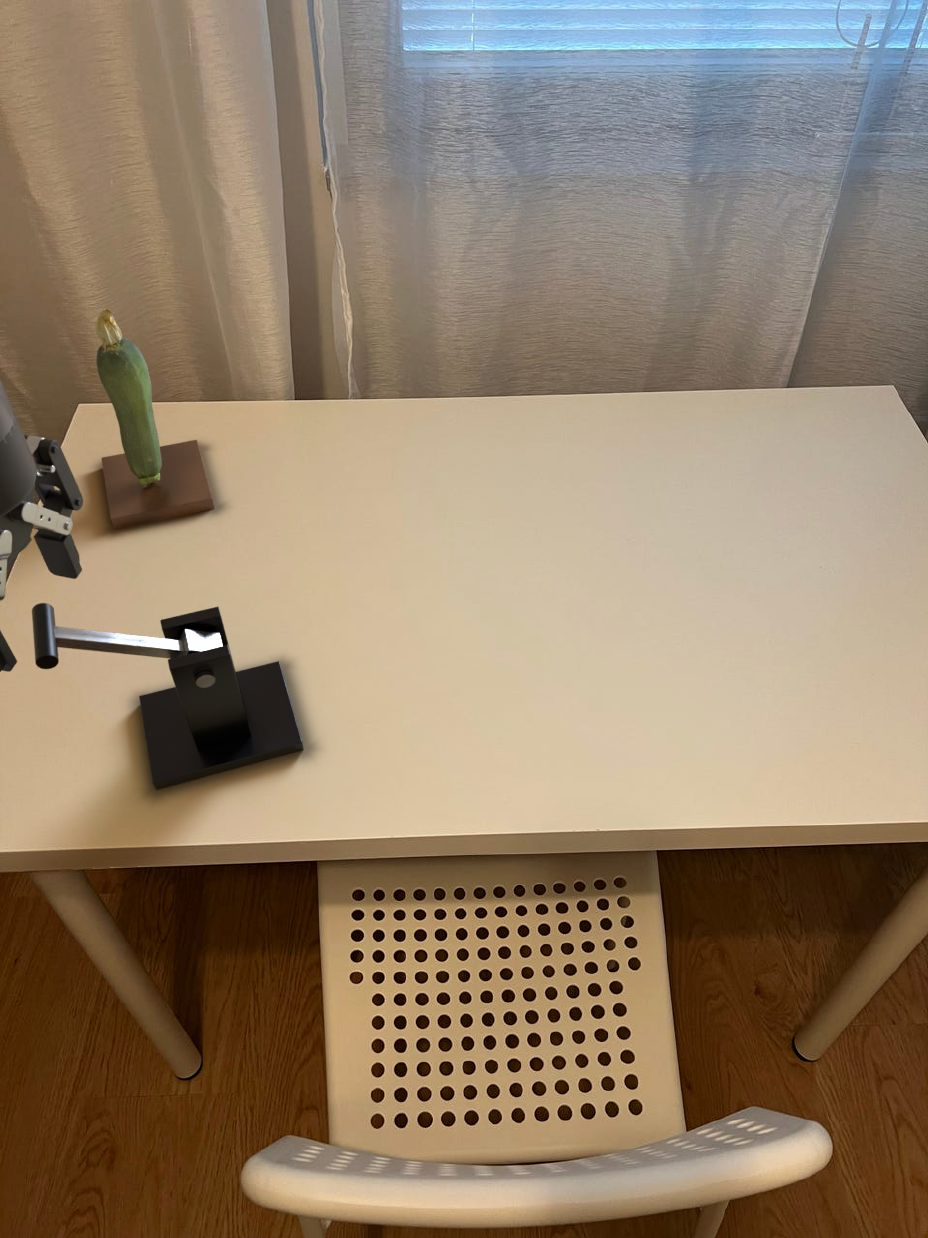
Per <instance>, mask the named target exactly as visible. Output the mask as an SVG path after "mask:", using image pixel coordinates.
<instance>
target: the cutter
mask: <svg viewBox="0 0 928 1238" xmlns="http://www.w3.org/2000/svg"><path fill="white" fill-rule="evenodd" d="M160 626H161V631H162V634H163V636H164V639H173V640H179V639H180V637H181V635H182V633H183V631H184V629H189V630H198V631H206V632H214V633H220V637H221V641H222V645H223V646H221V647H217V648H213V649H208V650H204V651H200V652H196V653H192V654H188V655H184V656H180V657H175V658H171V659H169V658H167V664H168V669H169V673H170V674H171V678H172V681H173V684H174V686H173V687H169V688H166V689H165V688H164V689H161V690H157V691H153V692H149V693H145V694H141V695H139V696H138V699H139V705H140V711H141V719H142V725H143V731H144V737H145V743H146V751H147V756H148V763H149V768H150V775H151V776H150V777H151V781H152V785H153V787H154V791H160V790H163V789H168V788H171V787H173V786H177V785H178V786H179V785H182V784H185V783H190V782H193V781H195V780H196V781H197V780H200V779H203V778H206V777H210V776H214V775H218V774H221V773H226V772H228V771H232V770H236V769H241V768H243V767H246V766H251V765H254V764H259V763H261V762H265V761H268V760H273V759H276V758H279V757H283V756H288V755H291V754H294V753H298V752H302V751H305V748H304V741H303V739H302V736H301V732H300V729H299V724H298V721H297V717H296V714H295V711H294V706H293V703H292V700H291V697H290V694H289V693H290V692H289V690H288V686H287V682H286V679H285V675H284V672H283V668H282V665H281V662H280V661H279V660H277V661H274V662H269V663H266V664H262V665H257V666H254V667H249V668H245V669H241V670H238V671H236V667H235V663H234V660H233V655H232V651H231V648H230V644H229V641H228V636H227V633H226V629H225V626H224V622H223V617H222V613H221V610H220V607H219V606H214V607H210V608H207V609H206V608H205V609H200V610H197V611H193V612H189V613H184V614H179V615H175V616H171V617H167V618H163V619H160Z"/></svg>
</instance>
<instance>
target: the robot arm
mask: <svg viewBox="0 0 928 1238" xmlns="http://www.w3.org/2000/svg"><path fill="white" fill-rule="evenodd" d="M63 451H64V450H63V449H62V447H61V444H60V443H59V441H58V440H57V439H51V438H46V437H42V436H36V435H29V434H24V432H23V430H22V427H21V425H20V422H19V420H18V418H17V415H16V412H15V410H14V408H13V405H12V403H11V401H10V399H9V397H8V393H7V391H6V389H5V386H4V384H3V381H2V379H1V378H0V602H2V601H3V600H5V598H6V589H7V573H8V571H9V570H10V569H11V567H12V566H13V564H14V562H15V561H16V559H17V557H18V556H19V554H21V552H22V551H24V550H25V549H26V548H27V547H28V545H29V544H30V543H31V542H32V540H33V539H34V540H35V544H36V545H37V548H38V551H39V552H40V554H41V556H42V559H43V560H44V563H45V565H46V567H47V570H48V571H49V572H50V573H51V574H52V575H54V576H56V577H62V578H66V579H72V580H76V579H77V578H78V577H79V576H80V574H81V573H82V571H83V568H82V565H81V563H80V561H81V558H80V553H79V551H78V548H77V545H76V544H75V541H74V539H73V538H74V537H73V536H72V534H71V532H72V531H73V527H74V522H73V520H72V517H71V516H72V514H73V511H76V512H77V511H80V510H81V509H82V507H83V505H84V504H83V503H84V496H83V495H82V492H81V490H80V487H79V485H78V483H77V480H76V479H75V476H74V474H73V471H72V470H71V468H70V465H69V463H68V461H67V458H66V456H65V454H64V452H63ZM56 488H57V489H56ZM35 493H36V494H37V496H38V498H39V500H40V502H41V505H42V506H40V505H39V504H36V503H35ZM33 530H37V531H36V533H35V534H34V535H33V539H32V536H31V535H32V533H33ZM17 663H18V659H17V658H16V655H15V654H14V652H13V651H12V649H11V647H10V645H9V643H8V642H7V640H6V638H5V636H4V634H3V633H2V631H1V629H0V673H1V672H2V671H3V672H7V673H8V672H9V673H10V672H12V670H13V669H14V667H15V666H16V665H17Z"/></svg>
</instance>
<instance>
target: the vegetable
mask: <svg viewBox="0 0 928 1238" xmlns="http://www.w3.org/2000/svg"><path fill="white" fill-rule="evenodd" d="M95 334H96V336H97V338H98V339H99V340H100V341H101V342H102V343H101V344H100V345H99V347H98V349H97V352H96V361H95V362H96V369H97V370H96V371H97V373H98V377H99V380H100V382H101V384H102V386H103V388H104V391H105V392H106V394H107V397H108V399H109V400H110V401H109V402H111V405H112V407H113V410H114V413H115V416H116V420H117V424H118V427H119V433H120V441H121V445H122V449H123V452H124V453H125V456H126V459H127V462H128V465H129V467H130V470H131V471H132V472H133V474H134V475H136V476H137V478H138V479H139V481H140V484H141V486H143V487H144V488H145V487H146V485H147V484H150V483H152V482H156V481H160V473H159V472H160V470H161V466H162V461H161V453H160V446H161V445H160V438H159V432H158V429H157V425H156V420H155V419H156V418H155V414H154V412H155V411H154V408H153V397H152V383H151V382H152V381H151V378H150V373H149V369H148V365H147V362H146V360H145V357H144V355H143V353H142V352H141V350H140V348H139V347H138V346H137V345H136V344H135V343H134V342H132V341H131V340H129V339H127V338H125V337H123V333H122V331H121V328H120V327H119V326H118V323H117V322H116V320H115V318H114V314H112V312H111V308H106V309H105V308H104V309H103V310H102V311H101V310H100V313H99V315H98V316H97V319H96V321H95Z"/></svg>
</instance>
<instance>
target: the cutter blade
mask: <svg viewBox="0 0 928 1238" xmlns="http://www.w3.org/2000/svg"><path fill="white" fill-rule="evenodd" d="M31 616H32V617H31V618H32V619H31V620H32V633H33V647H34V660H35V662H34V663H35V666H37V668H39V669H41V670H51V669H54V668H55V667H57V666H58V665H59V661H60V659H59V649H58V648H61V649H72V650H78V651H79V650H81V651H88V652H89V651H91V652H100V653H110V654H120V655H121V654H122V655H129V656H140V657H152V658H159V659H160V658H161V659H171V658H175V657H180V656H184V655H188V654H192V653H196V652H200V651H204V650H208V649H213V648H217V647H221V646H223V645H222V641H221V637H220V633H214V632H206V631H198V630H189V629H184V631H183V633H182V635H181V637H180V639H179V640H173V639H165V637H164V638H163V637H155V636H145V635H136V634H128V633H118V632H109V631H101V630H93V629H82V628H75V627H64V626H56V615H55V607H54V606H53V605H52V604H50V603H47V602H40V603H37V604H35V605H34V606H33V607H32V608H31Z"/></svg>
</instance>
